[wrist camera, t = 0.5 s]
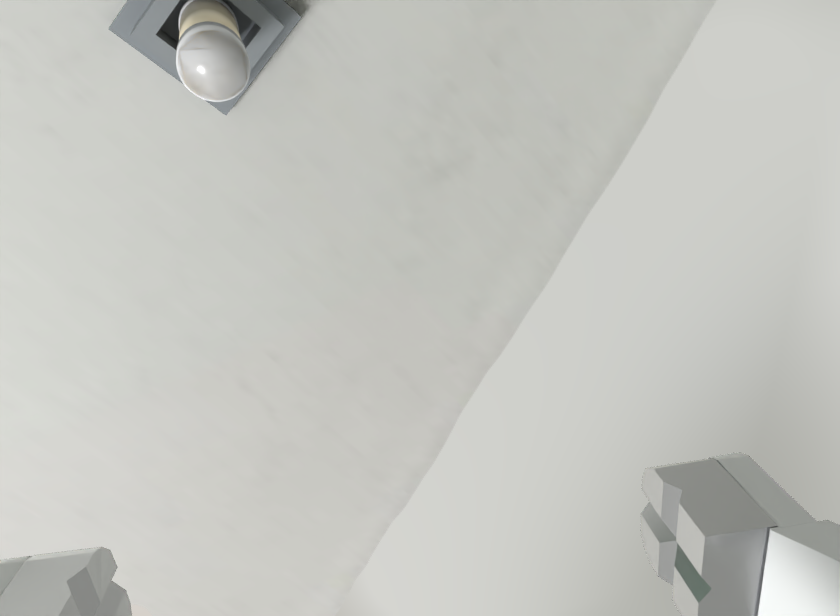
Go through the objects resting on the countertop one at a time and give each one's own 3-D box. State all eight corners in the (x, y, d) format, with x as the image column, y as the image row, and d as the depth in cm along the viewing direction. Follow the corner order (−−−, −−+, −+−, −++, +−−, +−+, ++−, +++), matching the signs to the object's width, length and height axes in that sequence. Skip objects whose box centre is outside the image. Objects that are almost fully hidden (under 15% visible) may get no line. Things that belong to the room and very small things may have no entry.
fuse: (167, 25, 46) (161, 70, 36) (200, -21, 45) (203, 11, 34) (216, 63, 48) (223, 115, 38) (248, 20, 47) (264, 62, 37)
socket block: (109, 26, 45) (104, 37, 42) (187, -89, 43) (187, -85, 40) (225, 111, 51) (227, 127, 48) (299, 15, 49) (307, 25, 46)
